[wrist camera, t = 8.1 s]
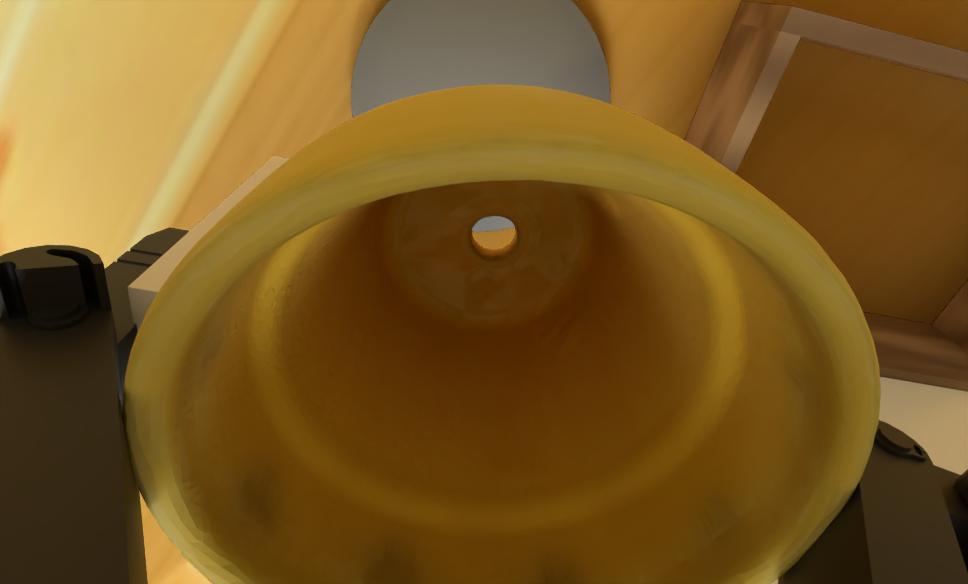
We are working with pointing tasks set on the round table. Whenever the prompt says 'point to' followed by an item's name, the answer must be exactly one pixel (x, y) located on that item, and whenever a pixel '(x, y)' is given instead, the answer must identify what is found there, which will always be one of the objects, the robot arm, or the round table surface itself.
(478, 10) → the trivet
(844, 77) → the round table surface
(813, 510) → the plant pot
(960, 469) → the lid
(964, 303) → the cold frame
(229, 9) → the round table surface
